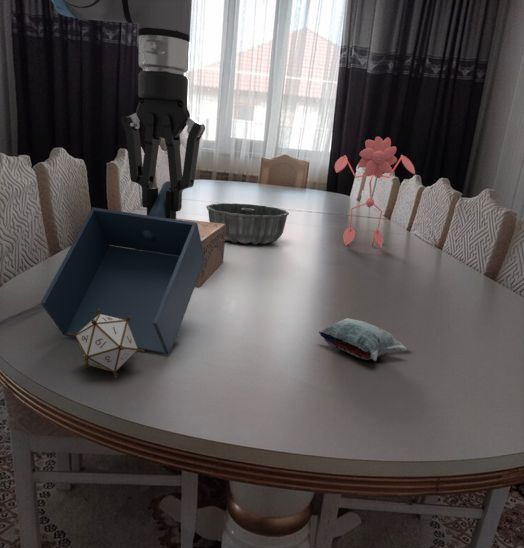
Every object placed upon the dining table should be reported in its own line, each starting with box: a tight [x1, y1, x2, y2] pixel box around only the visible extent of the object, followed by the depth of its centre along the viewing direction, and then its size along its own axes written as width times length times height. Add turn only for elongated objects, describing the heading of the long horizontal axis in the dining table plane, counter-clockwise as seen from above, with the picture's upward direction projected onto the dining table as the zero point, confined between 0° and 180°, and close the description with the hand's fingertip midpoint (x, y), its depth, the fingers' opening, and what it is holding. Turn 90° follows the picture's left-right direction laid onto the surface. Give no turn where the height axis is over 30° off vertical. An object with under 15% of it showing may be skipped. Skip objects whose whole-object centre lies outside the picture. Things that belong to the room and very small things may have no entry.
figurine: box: [334, 136, 416, 254], centre depth 168 cm, size 15×26×35 cm, turn 94°
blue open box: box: [40, 180, 204, 356], centre depth 81 cm, size 30×17×8 cm
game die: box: [69, 308, 145, 379], centre depth 69 cm, size 9×8×10 cm
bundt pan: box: [205, 202, 290, 246], centre depth 167 cm, size 26×26×10 cm
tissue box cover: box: [136, 217, 226, 288], centre depth 123 cm, size 26×14×10 cm, turn 173°
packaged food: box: [318, 317, 407, 362], centre depth 84 cm, size 9×12×5 cm
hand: (161, 229), depth 87 cm, fingers closed on blue open box, 3 cm apart
